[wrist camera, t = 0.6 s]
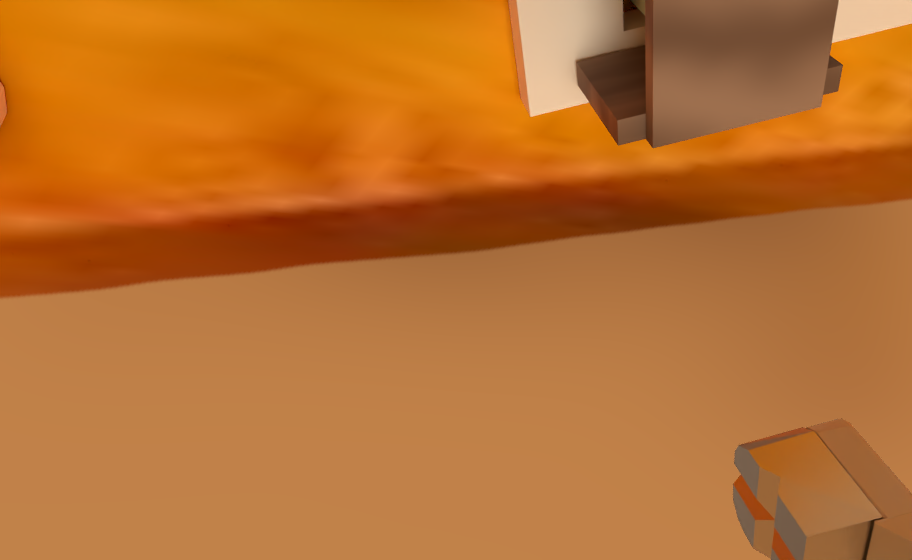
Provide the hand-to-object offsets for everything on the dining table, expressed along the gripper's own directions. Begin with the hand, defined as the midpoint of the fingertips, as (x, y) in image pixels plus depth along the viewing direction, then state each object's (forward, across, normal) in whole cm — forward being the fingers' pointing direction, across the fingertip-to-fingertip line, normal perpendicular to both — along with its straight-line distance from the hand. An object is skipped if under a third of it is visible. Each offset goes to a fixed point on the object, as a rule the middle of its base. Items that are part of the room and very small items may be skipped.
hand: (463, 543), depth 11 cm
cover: (+35, -18, +3) cm, 39 cm away
